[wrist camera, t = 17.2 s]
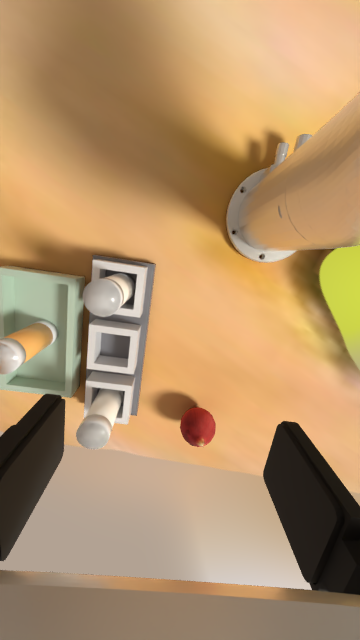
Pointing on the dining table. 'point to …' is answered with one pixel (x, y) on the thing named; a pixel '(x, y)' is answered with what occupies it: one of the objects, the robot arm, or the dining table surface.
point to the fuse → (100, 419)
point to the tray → (44, 304)
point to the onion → (197, 427)
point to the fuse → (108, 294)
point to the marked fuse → (25, 344)
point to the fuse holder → (119, 337)
